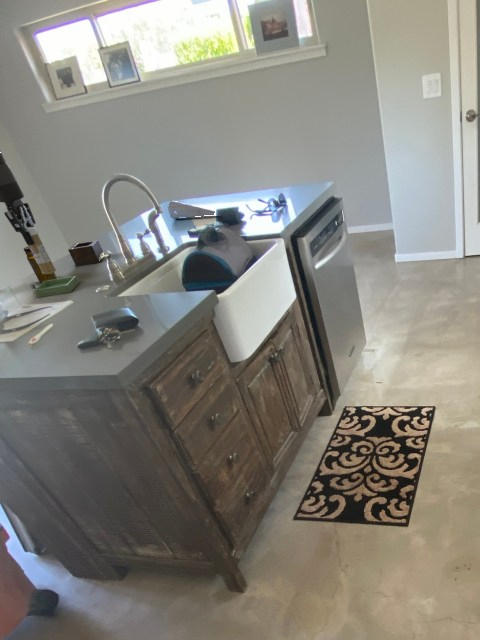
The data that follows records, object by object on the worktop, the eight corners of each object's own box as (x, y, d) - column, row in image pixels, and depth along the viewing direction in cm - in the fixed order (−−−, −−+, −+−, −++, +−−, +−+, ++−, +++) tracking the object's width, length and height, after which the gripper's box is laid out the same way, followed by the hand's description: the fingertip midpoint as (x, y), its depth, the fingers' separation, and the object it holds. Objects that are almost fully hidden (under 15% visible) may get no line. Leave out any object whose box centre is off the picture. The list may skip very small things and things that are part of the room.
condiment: (60, 281, 187) (42, 245, 179) (36, 288, 183) (16, 252, 175) (57, 277, 191) (39, 242, 183) (33, 284, 188) (13, 248, 180)
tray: (37, 297, 175) (33, 290, 173) (47, 287, 182) (43, 281, 181) (70, 291, 175) (67, 284, 174) (79, 282, 183) (76, 275, 181)
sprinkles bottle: (39, 274, 174) (16, 230, 165) (50, 269, 177) (28, 226, 168) (48, 274, 173) (25, 230, 164) (59, 270, 175) (37, 226, 167)
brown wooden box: (75, 266, 201) (67, 249, 197) (82, 259, 207) (74, 243, 203) (99, 262, 201) (91, 245, 197) (105, 255, 208) (98, 239, 204)
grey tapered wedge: (226, 201, 241) (175, 198, 245) (219, 205, 235) (166, 202, 238) (230, 220, 246) (179, 216, 250) (222, 224, 240) (171, 221, 243)
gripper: (-1, 180, 163) (30, 239, 174) (-20, 188, 152) (14, 250, 163) (23, 176, 163) (52, 235, 174) (6, 184, 152) (38, 246, 164)
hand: (34, 242), depth 169 cm, fingers closed on sprinkles bottle, 4 cm apart
